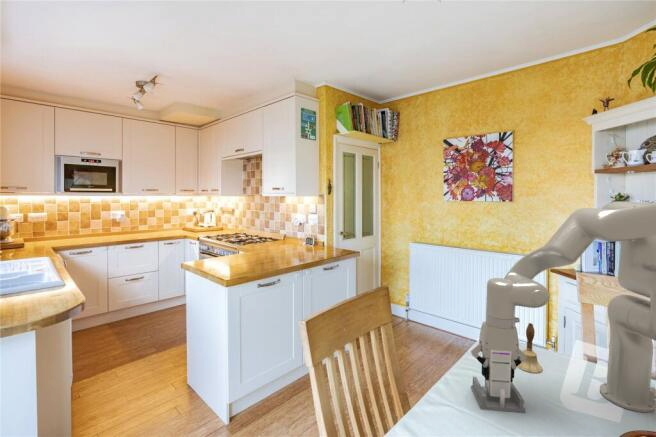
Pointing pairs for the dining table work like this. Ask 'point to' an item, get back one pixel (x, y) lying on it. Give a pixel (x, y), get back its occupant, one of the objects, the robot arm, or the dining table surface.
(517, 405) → the grey peg stand
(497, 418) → the dining table surface
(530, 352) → the hand bell
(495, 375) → the syrup box
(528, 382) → the dining table surface
